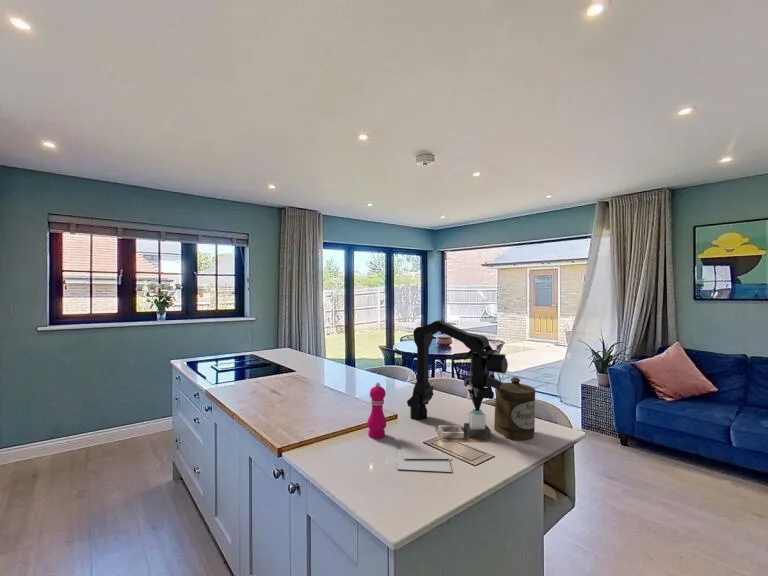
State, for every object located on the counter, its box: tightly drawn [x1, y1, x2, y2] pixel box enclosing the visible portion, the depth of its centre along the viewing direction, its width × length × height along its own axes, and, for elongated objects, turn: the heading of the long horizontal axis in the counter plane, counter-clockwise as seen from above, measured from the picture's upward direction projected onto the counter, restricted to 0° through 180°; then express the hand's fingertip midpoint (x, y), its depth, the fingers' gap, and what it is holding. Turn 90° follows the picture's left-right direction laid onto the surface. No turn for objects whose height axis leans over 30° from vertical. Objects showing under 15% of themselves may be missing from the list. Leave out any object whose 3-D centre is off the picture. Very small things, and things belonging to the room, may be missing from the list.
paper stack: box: [384, 448, 453, 473], centre depth 116 cm, size 23×25×1 cm
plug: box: [468, 408, 486, 429], centre depth 142 cm, size 5×4×9 cm
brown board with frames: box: [434, 422, 497, 443], centre depth 141 cm, size 20×14×4 cm
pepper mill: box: [366, 382, 387, 440], centre depth 141 cm, size 7×7×20 cm
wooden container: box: [493, 376, 536, 442], centre depth 146 cm, size 15×15×22 cm
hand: (477, 410), depth 142 cm, fingers closed, pressing on plug
